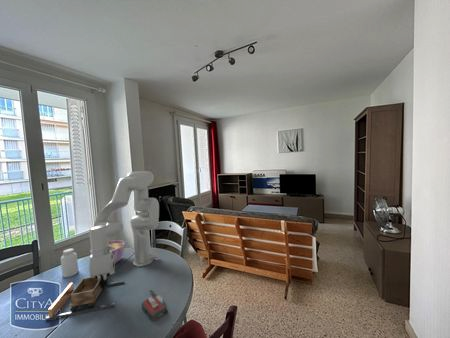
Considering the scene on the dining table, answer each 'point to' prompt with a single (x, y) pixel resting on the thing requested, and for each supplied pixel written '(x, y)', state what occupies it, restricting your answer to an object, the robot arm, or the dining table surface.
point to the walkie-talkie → (154, 307)
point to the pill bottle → (69, 263)
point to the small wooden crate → (85, 293)
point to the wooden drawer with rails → (63, 299)
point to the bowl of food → (116, 249)
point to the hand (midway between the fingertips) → (104, 286)
